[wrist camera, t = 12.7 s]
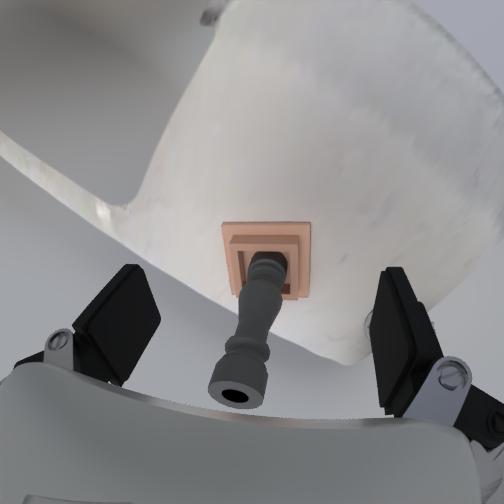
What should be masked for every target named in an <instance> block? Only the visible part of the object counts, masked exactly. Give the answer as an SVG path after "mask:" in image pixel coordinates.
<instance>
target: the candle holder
mask: <svg viewBox="0 0 504 504" xmlns="http://www.w3.org/2000/svg"><path fill="white" fill-rule="evenodd" d="M287 268H288V263H287V259H286V258H285V256H284V255H283V254H282V253H281V252H279V251H257V252H256V253H255V254H254V255H253V257H252V259H251V262H250V264H249V267H248V273H247V282H248V283H246V284H245V285H244V286H243V288H242V289H241V291H240V293H239V323H238V326H237V329H236V332H235V335H234V336H231V337H230V338H229V340H228V341H227V342H226V344H225V351H226V353H227V354H225V355H224V356H223V357H222V358H221V359H220V360H219V361H218V362H217V364H216V366H215V369H214V372H213V374H212V377H211V380H210V383H209V386H208V393H209V394H210V395H211V397H212V398H213V399H215V400H216V401H218V402H219V403H221V404H223V405H226V406H228V407H232V408H237V409H253V408H257V407H258V406H260V405H262V403H263V399H264V394H265V389H266V384H267V379H268V373H267V371H266V370H267V369H266V366H265V364H264V363H265V362H266V361H267V360H268V359H269V355H270V349H269V346H268V344H267V343H266V340H267V336H268V331H269V329H270V327H271V326H272V324H273V322H274V320H275V318H276V316H277V315H278V313H279V311H280V309H281V306H282V301H283V299H282V295H281V291H280V290H281V289H282V287H283V284H284V283H285V280H286V275H287Z"/></svg>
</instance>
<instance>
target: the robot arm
mask: <svg viewBox="0 0 504 504" xmlns="http://www.w3.org/2000/svg"><path fill="white" fill-rule="evenodd" d="M160 321H161V316H160V313H159V311H158V308H157V306H156V303H155V300H154V298H153V295H152V292H151V290H150V287H149V284H148V281H147V278H146V275H145V273H144V270H143V269H142V268H141V267H140V266H139V265H138V264H126V265H124V266H123V267H122V268H121V269H120V271H119V272H118V273H117V274H116V275H115V276H114V277H113V278H112V279H111V280H110V281H109V282H108V284H107V285H106V286H105V287H104V288H103V289H102V290H101V291H100V292H99V294H98V295H97V296H96V297H95V298H94V300H92V302H91V303H90V304H89V305H88V306H87V307H86V309H85V310H84V311H83V312H82V313H81V315H80V316H79V317H78V318H77V319H76V320H75V322H74V323H73V324H72V327H73V328H74V330H75V333H74V334H73V333H72V332H71V331H70V330H69V329H59V330H57V331H55V332H54V333H52V334H51V335H50V336H49V337H48V339H47V341H46V343H45V350H44V351H42V352H39V353H37V354H34V355H32V356H30V357H27V358H25V359H23V360H20V361H18V362H17V363H16V364H15V366H14V369H13V371H12V372H11V373H10V374H9V375H8V376H7V377H6V378H4V379H3V380H2V381H0V504H504V404H503V403H501V402H499V401H498V400H496V399H495V398H493V397H492V396H490V395H488V394H487V393H485V392H483V391H482V390H480V389H479V388H477V387H475V386H474V385H472V384H471V382H472V374H471V370H470V368H469V367H468V365H467V364H466V363H465V362H464V361H462V360H461V359H459V358H456V357H450V356H447V357H444V356H443V353H442V350H441V347H440V345H439V342H438V339H437V337H436V334H435V333H436V332H435V329H433V328H434V322H431V321H430V319H429V316H428V314H427V312H426V309H425V307H424V305H423V303H421V302H418V301H417V298H416V296H415V294H414V292H413V289H412V287H411V285H410V283H409V280H408V278H407V276H406V274H405V272H404V270H403V268H402V267H387V268H386V270H385V271H382V272H381V274H380V279H379V285H378V290H377V295H376V299H375V304H374V309H373V311H372V312H371V313H370V314H369V316H368V317H367V319H366V322H365V327H364V329H365V334H366V337H367V338H368V340H369V341H370V342H371V346H372V352H373V358H374V365H375V372H376V379H377V387H378V396H379V403H380V407H384V409H385V415H392V414H394V418H365V419H294V418H278V417H266V416H255V415H246V414H239V413H231V412H224V411H218V410H212V409H206V408H201V407H195V406H190V405H186V404H180V403H176V402H172V401H168V400H164V399H160V398H156V397H152V396H148V395H145V394H141V393H137V392H134V391H131V390H127V389H124V388H121V387H122V385H123V383H124V382H125V381H127V380H128V379H129V377H130V375H131V373H132V371H133V369H134V368H135V366H136V364H137V362H138V361H139V359H140V357H141V355H142V353H143V352H144V350H145V348H146V346H147V345H148V343H149V341H150V340H151V338H152V336H153V334H154V333H155V331H156V329H157V328H158V326H159V324H160ZM108 381H110V383H111V384H109V383H108ZM112 384H113V385H112ZM115 385H116V386H115ZM118 386H119V387H118Z"/></svg>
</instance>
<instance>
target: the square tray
mask: <svg viewBox="0 0 504 504" xmlns="http://www.w3.org/2000/svg"><path fill="white" fill-rule="evenodd" d="M221 227H222V234H223V240H224V247H225V254H226V260H227V267H228V273H229V280H230V286H231V292H232V295H236V298H239V293H240V291H241V289H242V288H243V286H244V285H245V284H246V283H248V282H247V273H248V267H249V264H250V262H251V259H252V257H253V255H254V254H255V253H256V252H257V251H279V252H281V253H282V254H283V255H284V256H285V258H286V259H287V263H288V268H287V275H286V280H285V283H284V284H283V287H282V289H281V290H280V291H281V295H282V299H283V300H298V297H301V298H308V294H309V267H310V222H226V223H222V225H221Z"/></svg>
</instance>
